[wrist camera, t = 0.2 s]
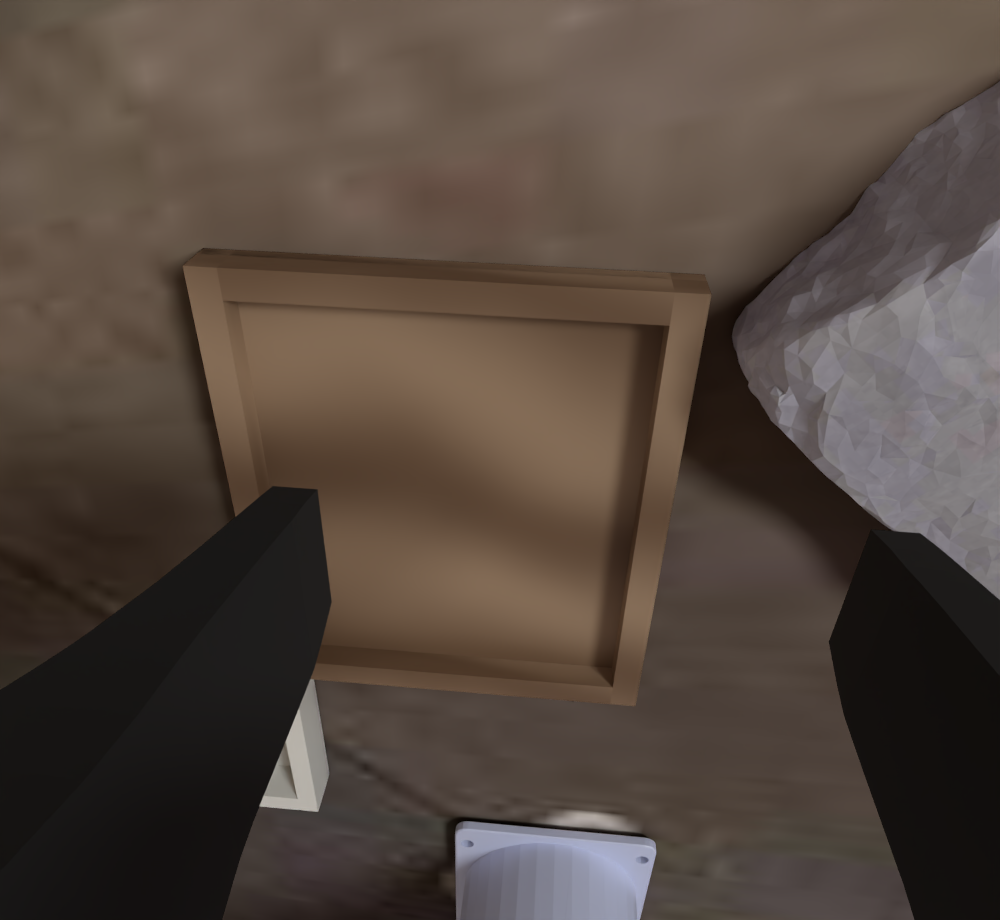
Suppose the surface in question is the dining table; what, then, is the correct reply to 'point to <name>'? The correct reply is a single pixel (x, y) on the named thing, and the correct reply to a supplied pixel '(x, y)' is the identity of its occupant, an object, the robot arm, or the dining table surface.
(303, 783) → the holder
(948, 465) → the stone block
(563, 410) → the tray
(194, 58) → the dining table surface
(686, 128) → the dining table surface
